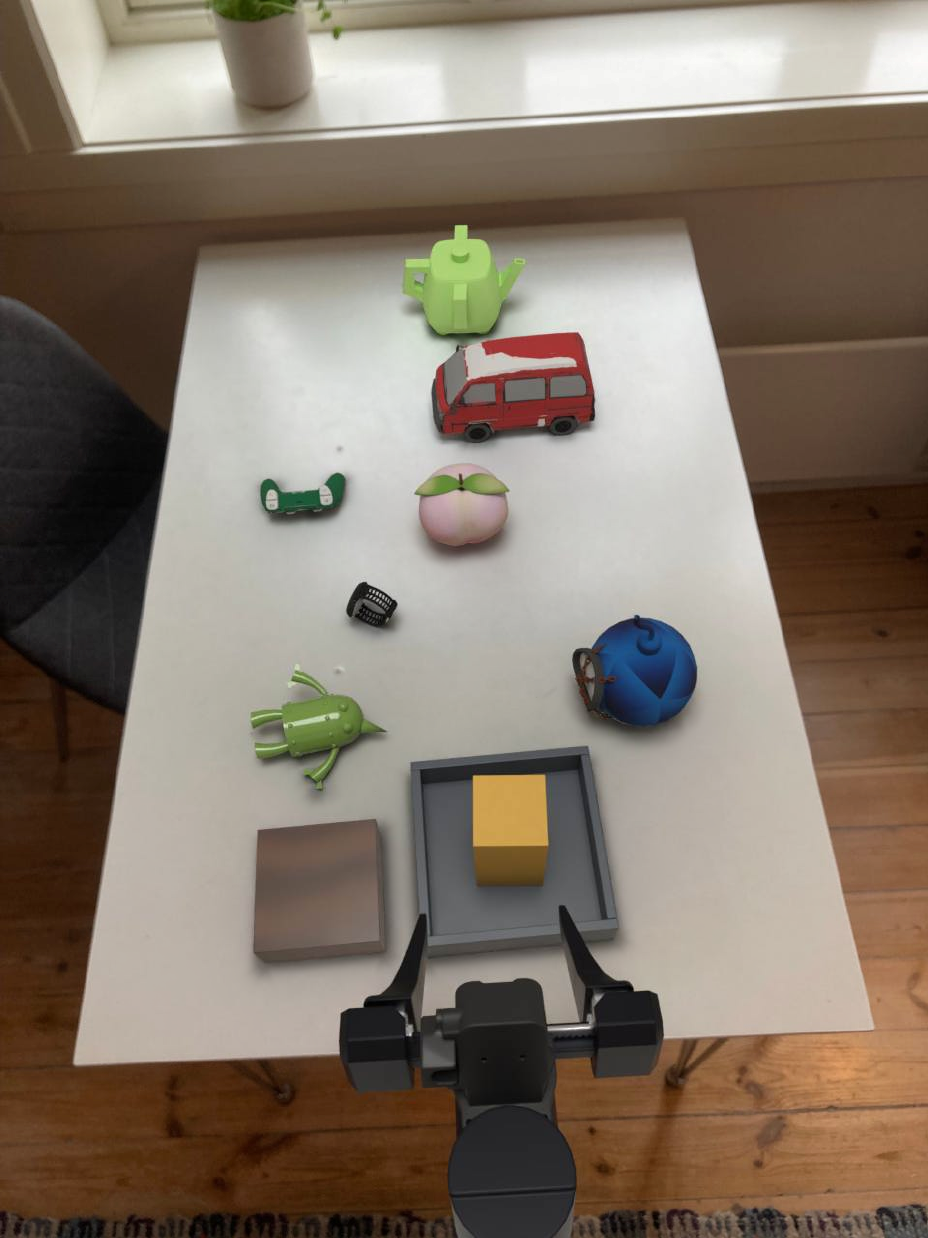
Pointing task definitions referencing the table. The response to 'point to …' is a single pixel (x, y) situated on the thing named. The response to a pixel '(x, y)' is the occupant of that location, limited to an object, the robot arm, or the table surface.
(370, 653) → the table surface
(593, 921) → the tray
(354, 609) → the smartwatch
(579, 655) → the bomb
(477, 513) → the decorative fruit
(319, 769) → the character figure
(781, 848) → the table surface
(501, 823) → the puzzle block
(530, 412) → the toy car
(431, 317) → the teapot
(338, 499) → the gaming controller
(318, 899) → the square wooden tile
